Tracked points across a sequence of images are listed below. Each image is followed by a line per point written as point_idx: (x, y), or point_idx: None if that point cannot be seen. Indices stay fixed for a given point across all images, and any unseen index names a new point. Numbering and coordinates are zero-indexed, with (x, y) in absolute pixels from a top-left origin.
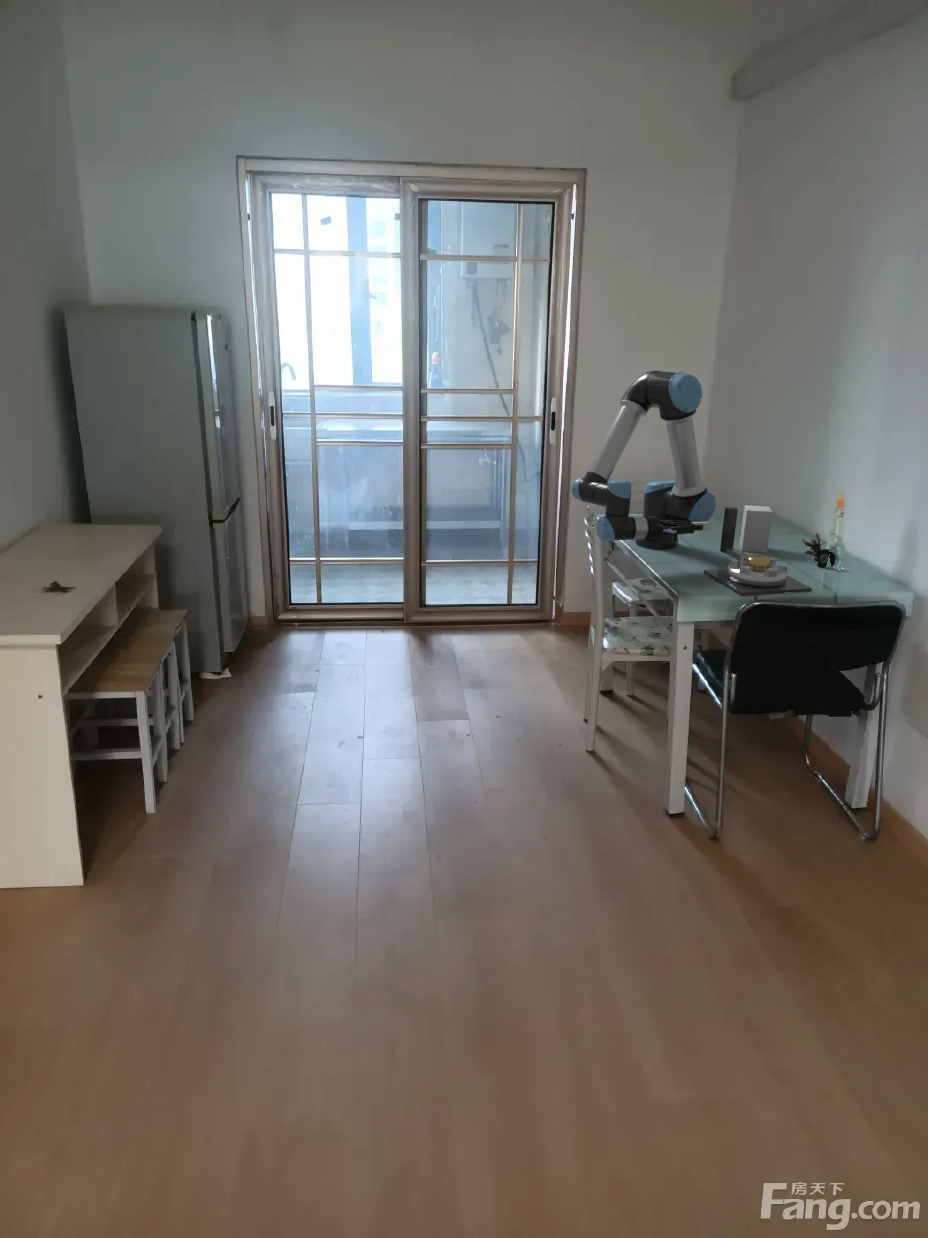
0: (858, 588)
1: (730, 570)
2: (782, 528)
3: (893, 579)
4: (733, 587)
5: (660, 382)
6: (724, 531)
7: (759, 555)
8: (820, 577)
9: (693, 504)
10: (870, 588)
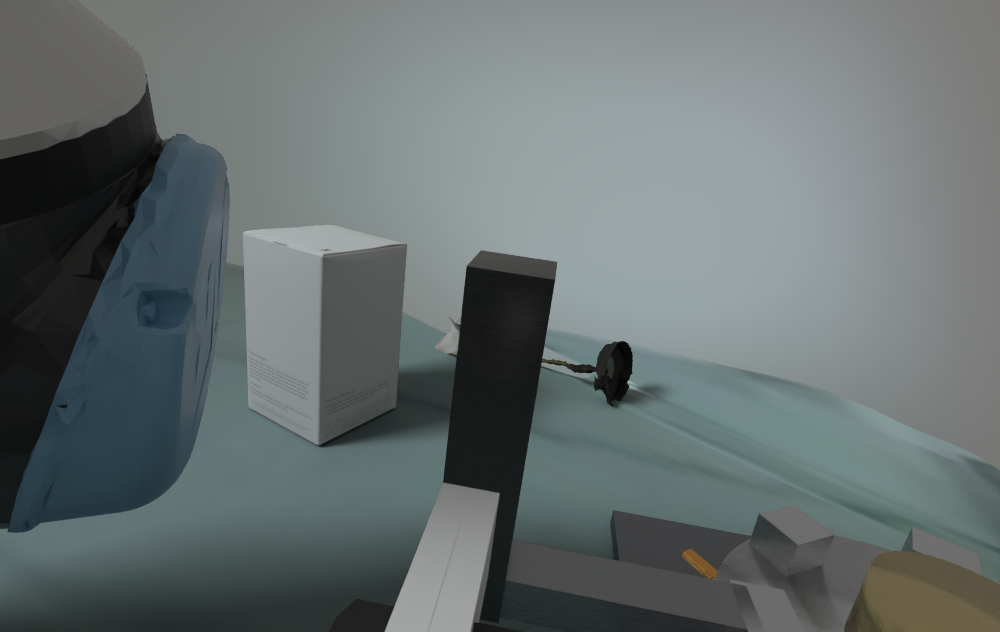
0: (851, 453)
1: None
2: (237, 285)
3: (729, 369)
4: None
5: None
6: (481, 473)
7: (897, 579)
8: (731, 459)
9: (51, 307)
10: (839, 434)
